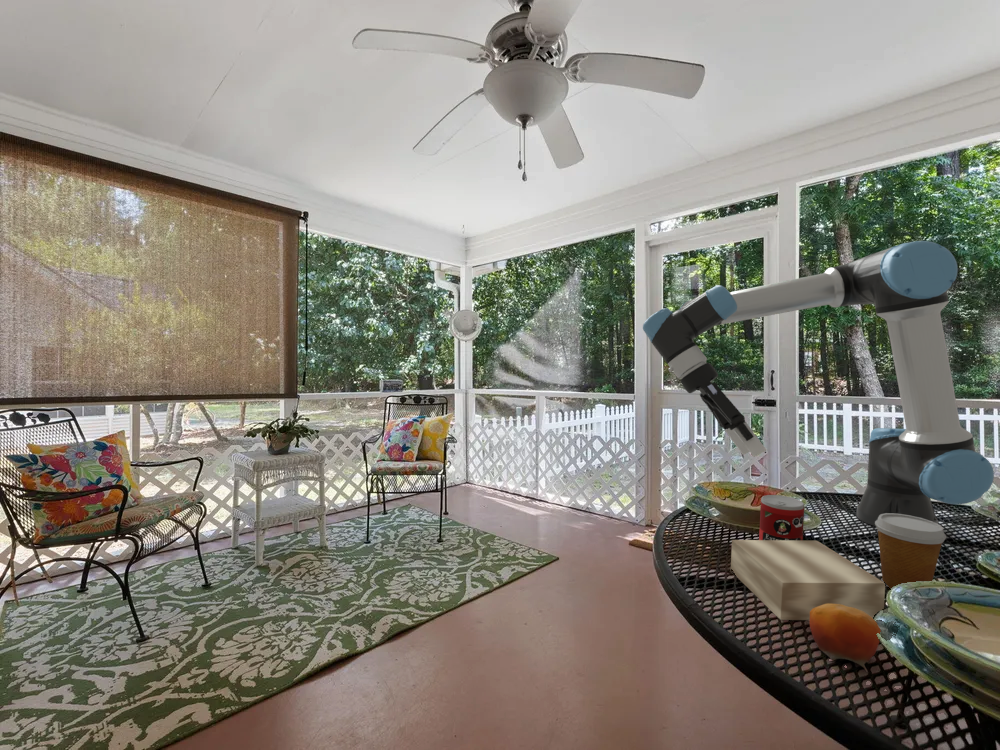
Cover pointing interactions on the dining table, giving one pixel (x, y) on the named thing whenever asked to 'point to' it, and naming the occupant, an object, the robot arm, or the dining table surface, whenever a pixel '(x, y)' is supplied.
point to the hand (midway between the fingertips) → (754, 452)
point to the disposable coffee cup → (908, 548)
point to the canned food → (781, 518)
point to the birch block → (803, 577)
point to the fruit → (844, 632)
